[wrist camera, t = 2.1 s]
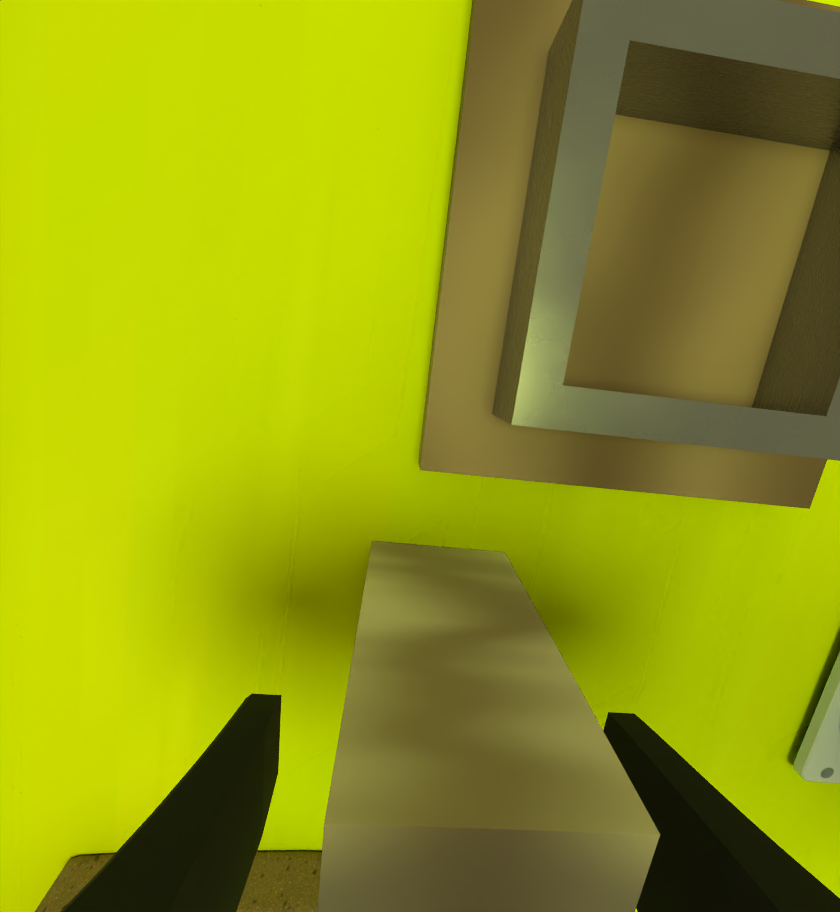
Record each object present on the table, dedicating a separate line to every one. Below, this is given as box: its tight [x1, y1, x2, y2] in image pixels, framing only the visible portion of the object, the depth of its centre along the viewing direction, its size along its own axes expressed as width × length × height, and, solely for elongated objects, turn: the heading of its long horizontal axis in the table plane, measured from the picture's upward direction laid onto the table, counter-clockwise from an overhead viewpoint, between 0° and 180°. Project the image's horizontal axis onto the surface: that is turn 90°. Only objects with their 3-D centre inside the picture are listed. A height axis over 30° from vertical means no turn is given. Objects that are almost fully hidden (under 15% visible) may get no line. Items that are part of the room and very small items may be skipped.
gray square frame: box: [492, 0, 840, 461], centre depth 9 cm, size 8×8×2 cm
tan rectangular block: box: [317, 541, 660, 912], centre depth 9 cm, size 4×4×8 cm
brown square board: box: [419, 0, 840, 509], centre depth 11 cm, size 12×12×1 cm
